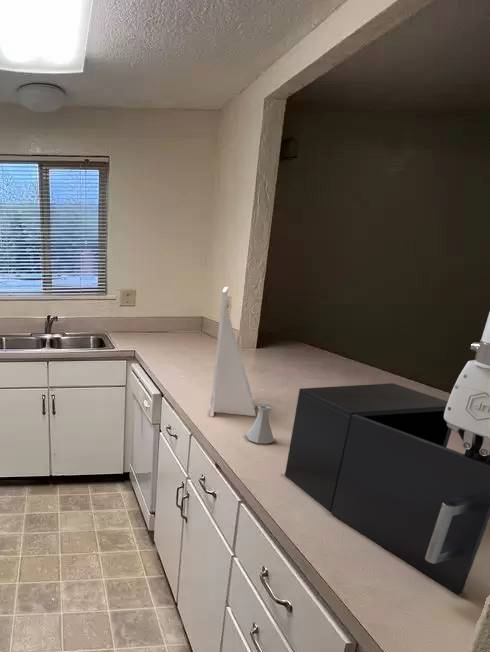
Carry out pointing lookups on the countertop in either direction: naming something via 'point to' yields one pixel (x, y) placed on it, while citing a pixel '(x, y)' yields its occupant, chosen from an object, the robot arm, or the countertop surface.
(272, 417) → the countertop surface
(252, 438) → the flask
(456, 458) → the fridge door
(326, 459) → the mini fridge
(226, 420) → the countertop surface
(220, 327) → the white bracket plate
